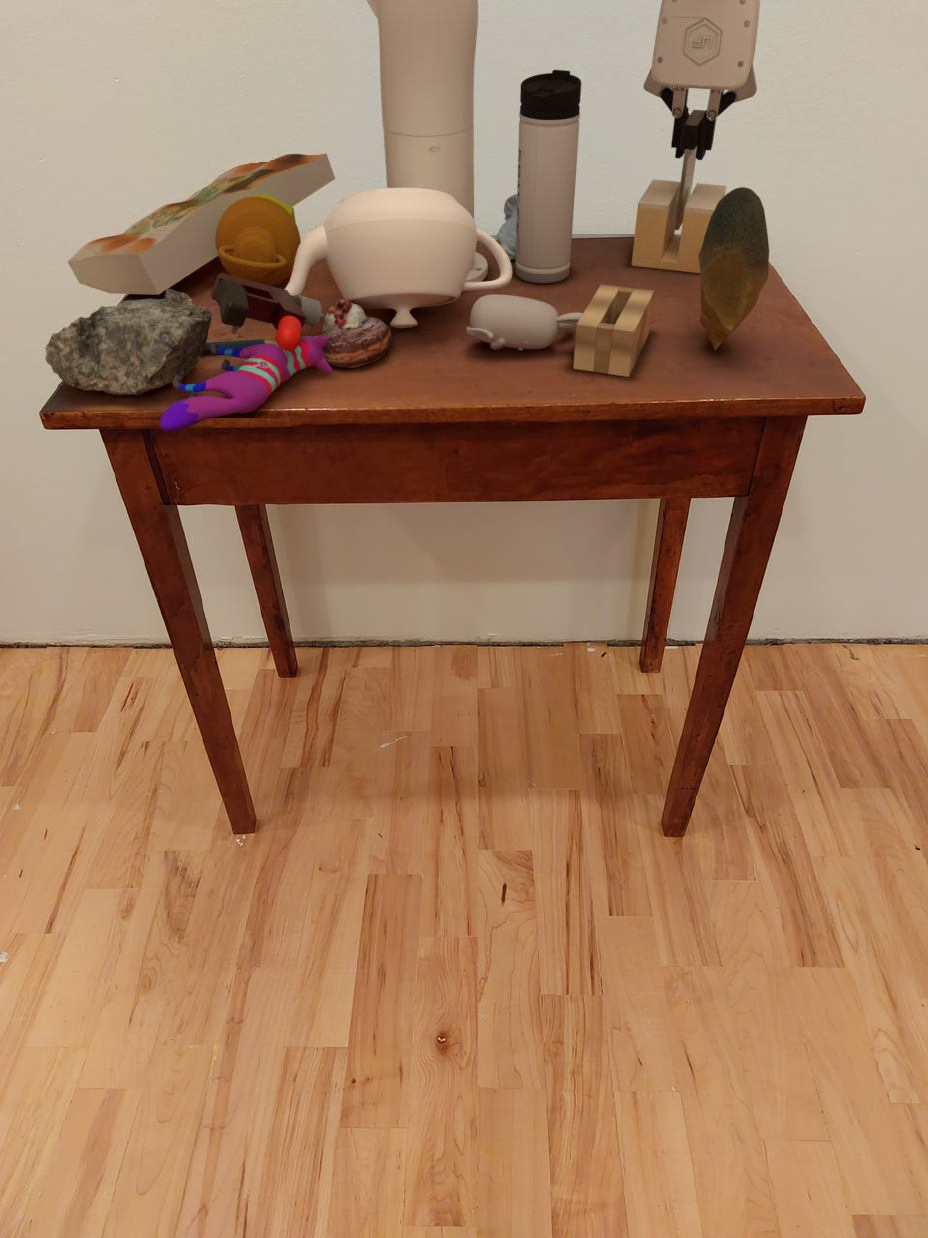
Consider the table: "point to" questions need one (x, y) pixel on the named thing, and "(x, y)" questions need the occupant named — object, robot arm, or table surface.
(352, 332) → the pastry
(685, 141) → the knife
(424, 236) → the teapot
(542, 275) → the travel mug
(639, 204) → the u-shaped wooden stand
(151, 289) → the topographic model
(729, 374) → the table surface
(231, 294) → the toy gun
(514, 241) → the figurine
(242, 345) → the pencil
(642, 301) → the knife block
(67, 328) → the rock
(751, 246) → the decorative stone
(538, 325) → the rabbit figurine
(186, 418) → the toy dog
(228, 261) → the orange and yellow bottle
